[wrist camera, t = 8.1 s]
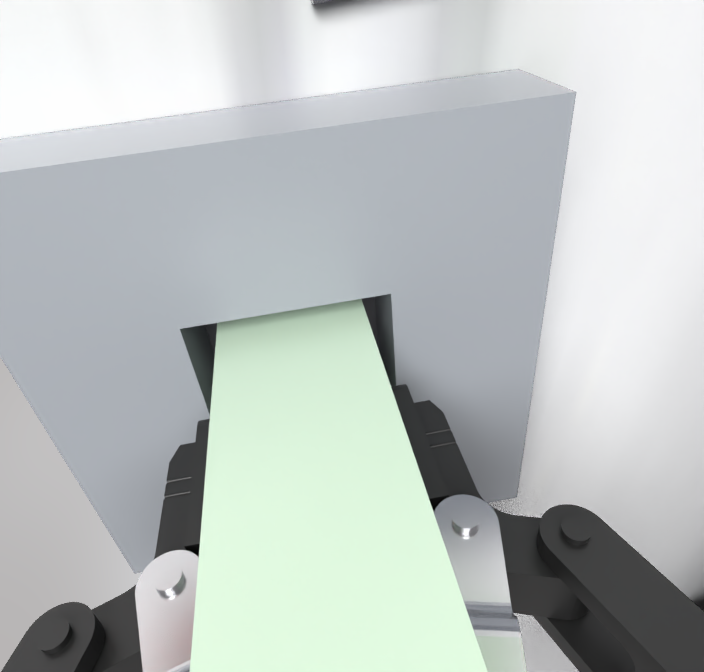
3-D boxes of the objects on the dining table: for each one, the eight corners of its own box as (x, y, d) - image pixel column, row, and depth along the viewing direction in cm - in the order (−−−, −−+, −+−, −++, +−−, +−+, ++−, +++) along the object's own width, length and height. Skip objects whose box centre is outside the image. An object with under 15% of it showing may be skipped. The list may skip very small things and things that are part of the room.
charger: (359, 293, 15) (496, 699, 7) (369, 397, 17) (480, 790, 9) (217, 316, 15) (181, 771, 6) (247, 419, 17) (249, 846, 9)
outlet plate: (518, 69, 14) (576, 92, 11) (487, 438, 22) (516, 496, 20) (-39, 144, 13) (-105, 187, 10) (147, 503, 21) (134, 573, 19)
